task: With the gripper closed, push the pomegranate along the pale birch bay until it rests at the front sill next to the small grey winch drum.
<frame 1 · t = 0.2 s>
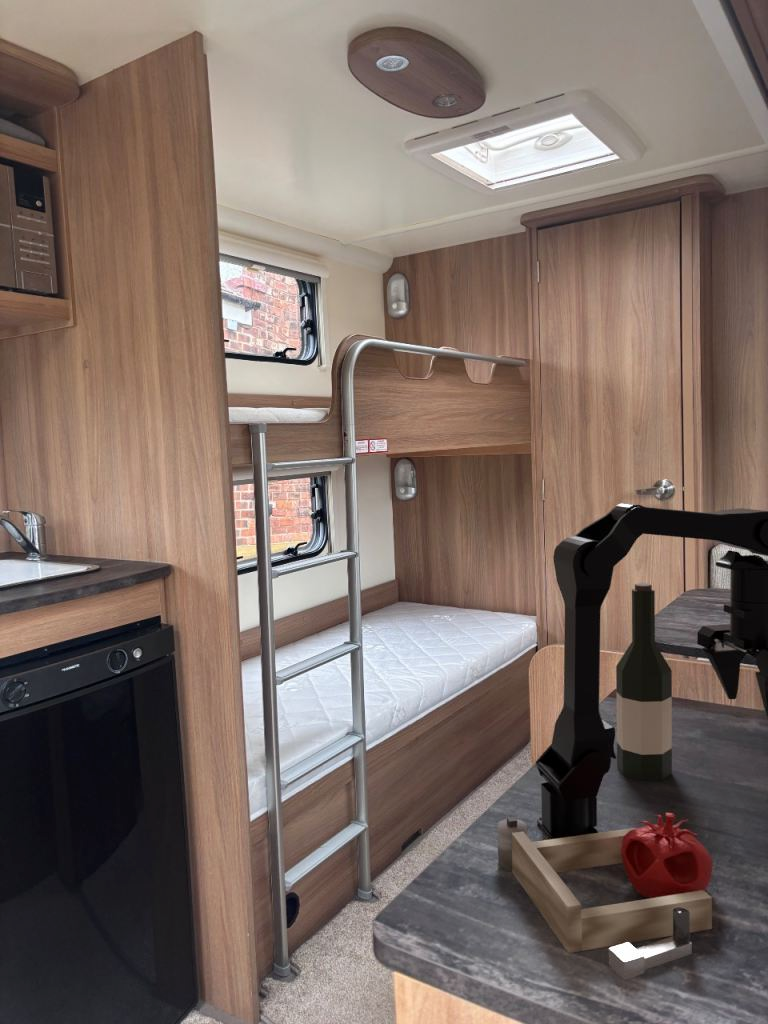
hand: (751, 709, 110), 14 cm above the table, tool pointing down, fingers open, 9 cm apart
pomegranate: (666, 891, 91), on the table
crank handle: (654, 959, 79), on the table
wine bottle: (644, 771, 125), on the table
bay: (611, 897, 90), on the table
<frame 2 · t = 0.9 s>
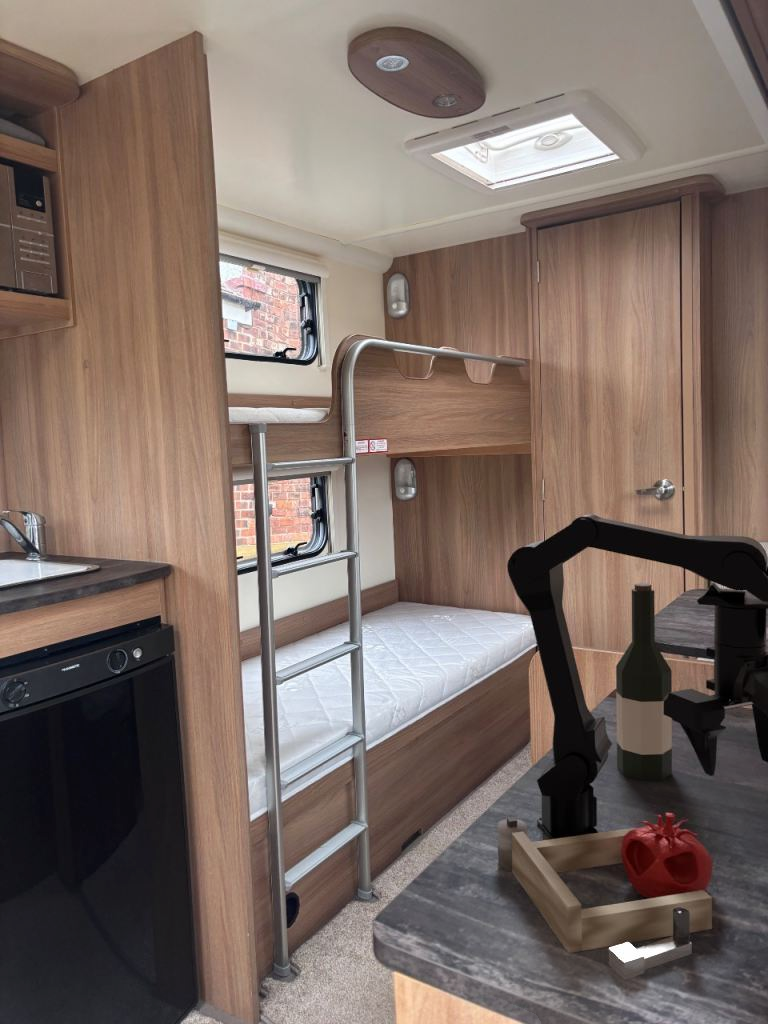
hand: (738, 767, 95), 12 cm above the table, tool pointing down, fingers open, 9 cm apart
nothing on the table moved.
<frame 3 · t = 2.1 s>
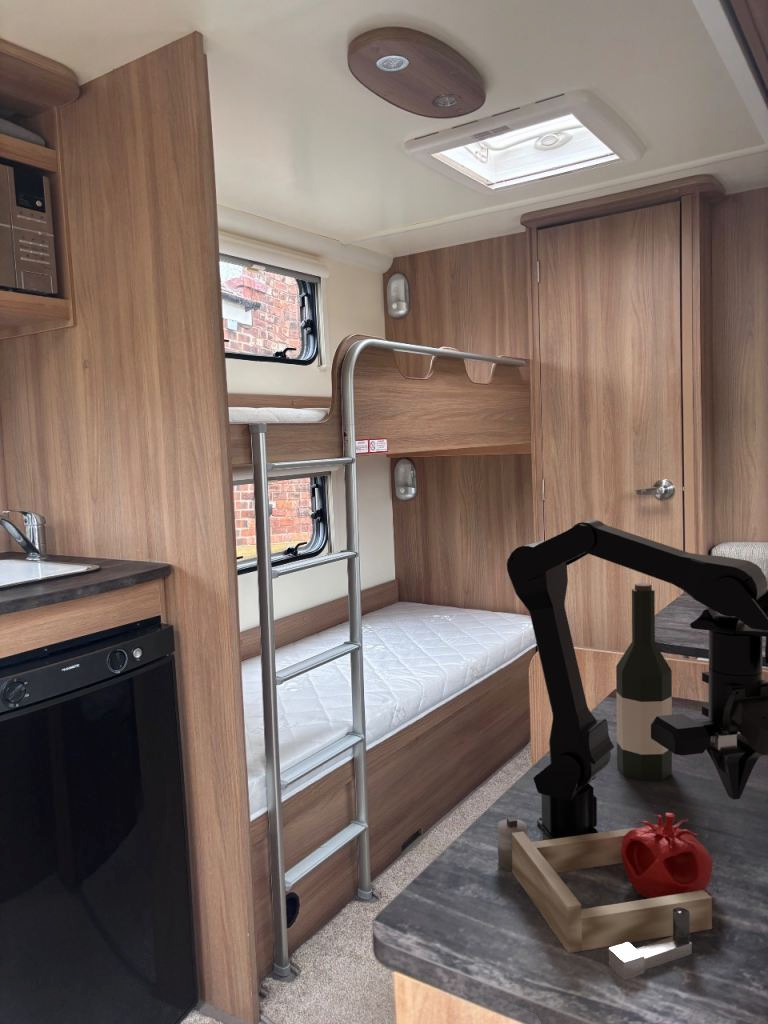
hand: (734, 798, 92), 10 cm above the table, tool pointing down, fingers closed
nothing on the table moved.
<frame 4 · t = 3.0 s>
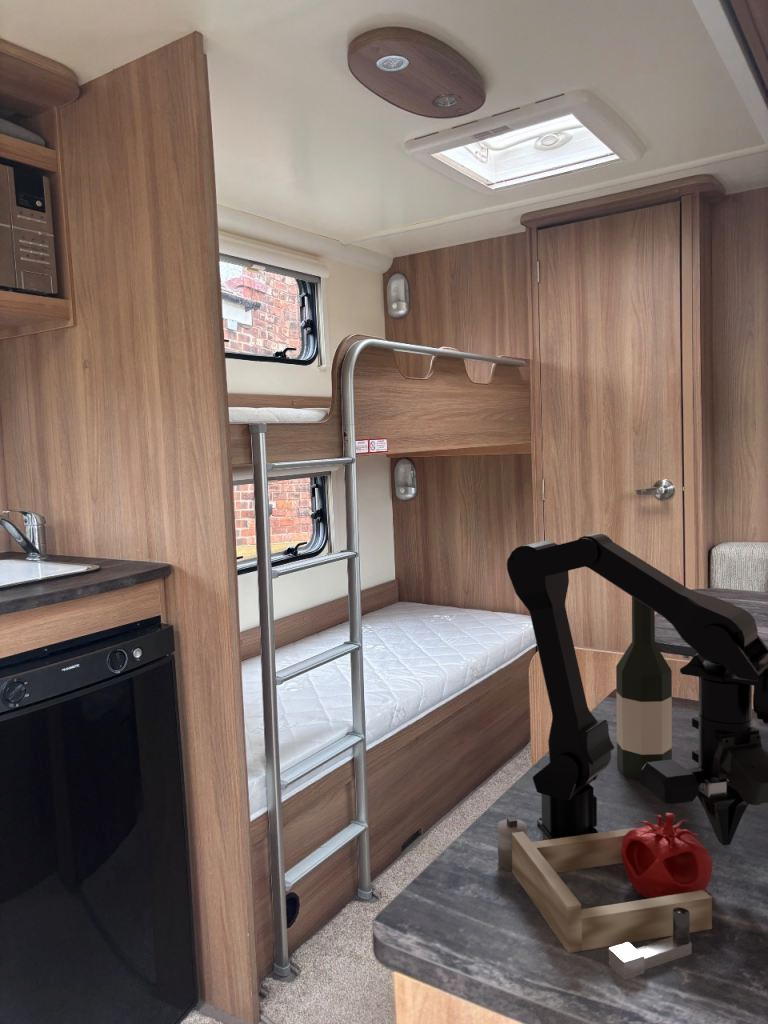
hand: (724, 843, 92), 4 cm above the table, tool pointing down, fingers closed
nothing on the table moved.
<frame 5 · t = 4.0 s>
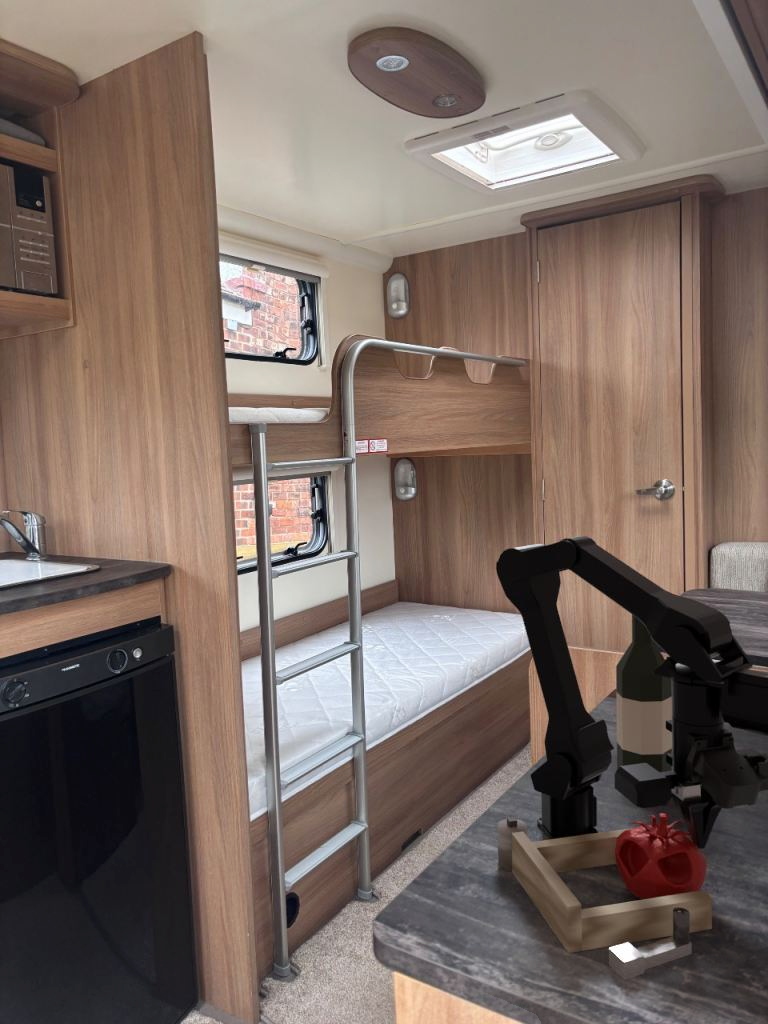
hand: (699, 847, 92), 5 cm above the table, tool pointing down, fingers closed
pomegranate: (660, 892, 91), on the table, touching gripper
everything else where it was.
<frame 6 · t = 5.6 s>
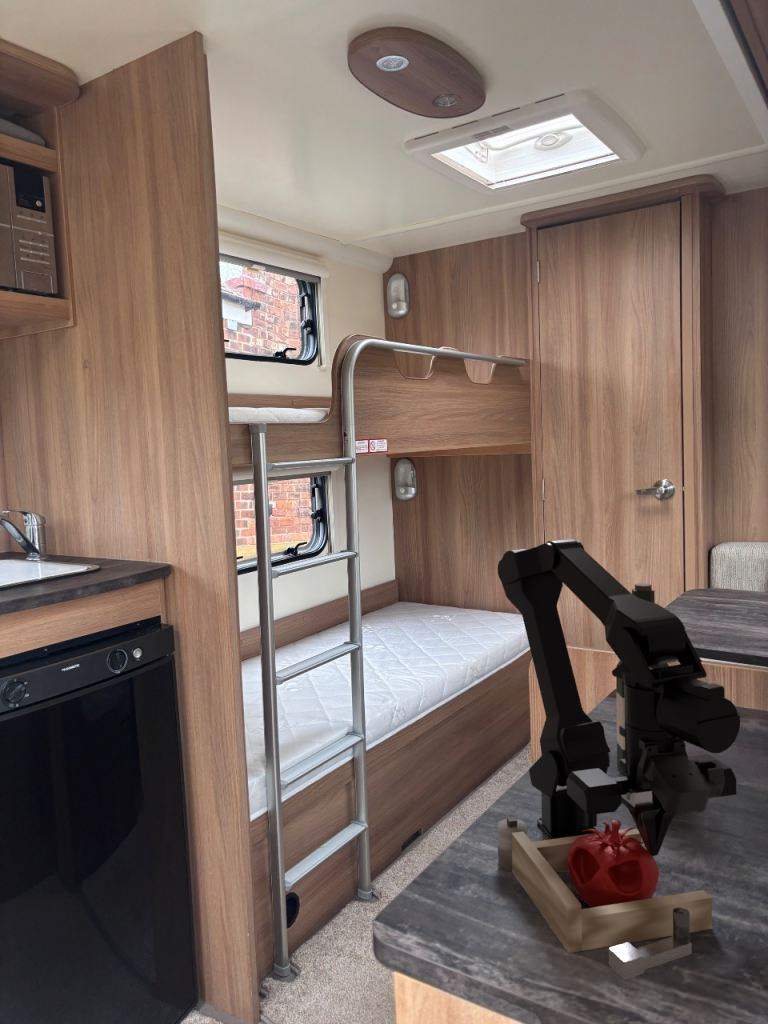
hand: (652, 854, 90), 5 cm above the table, tool pointing down, fingers closed
pomegranate: (612, 900, 90), on the table, touching gripper
everything else where it was.
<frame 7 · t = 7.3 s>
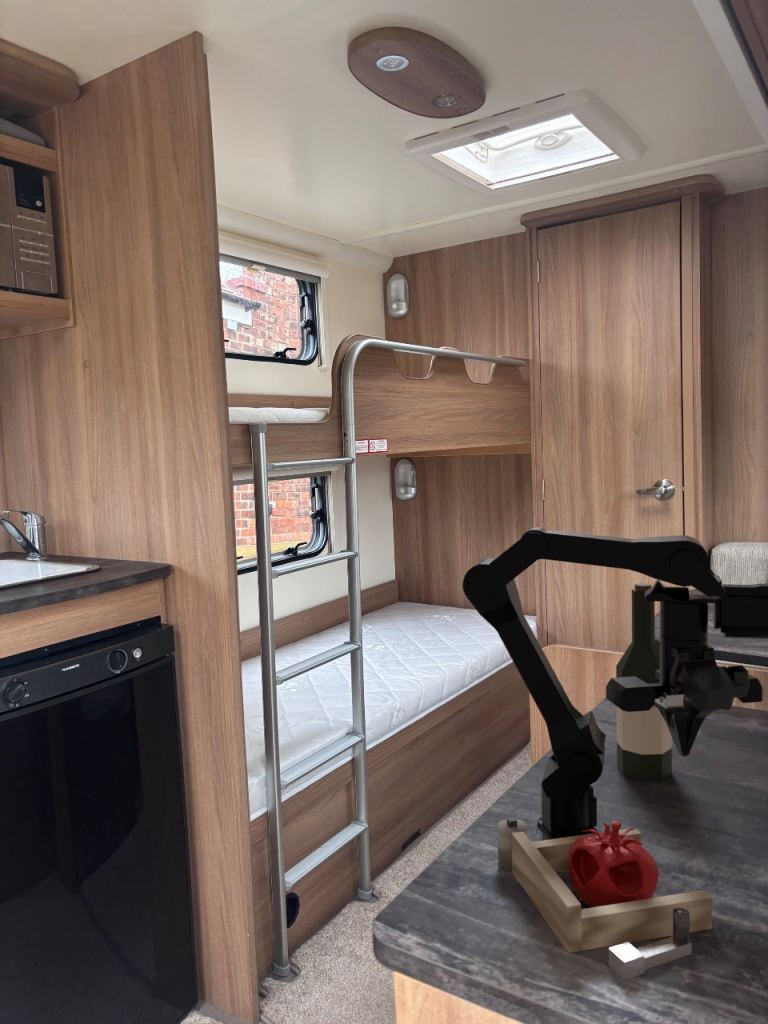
hand: (683, 754, 100), 12 cm above the table, tool pointing down, fingers closed
pomegranate: (612, 900, 90), on the table
everything else where it was.
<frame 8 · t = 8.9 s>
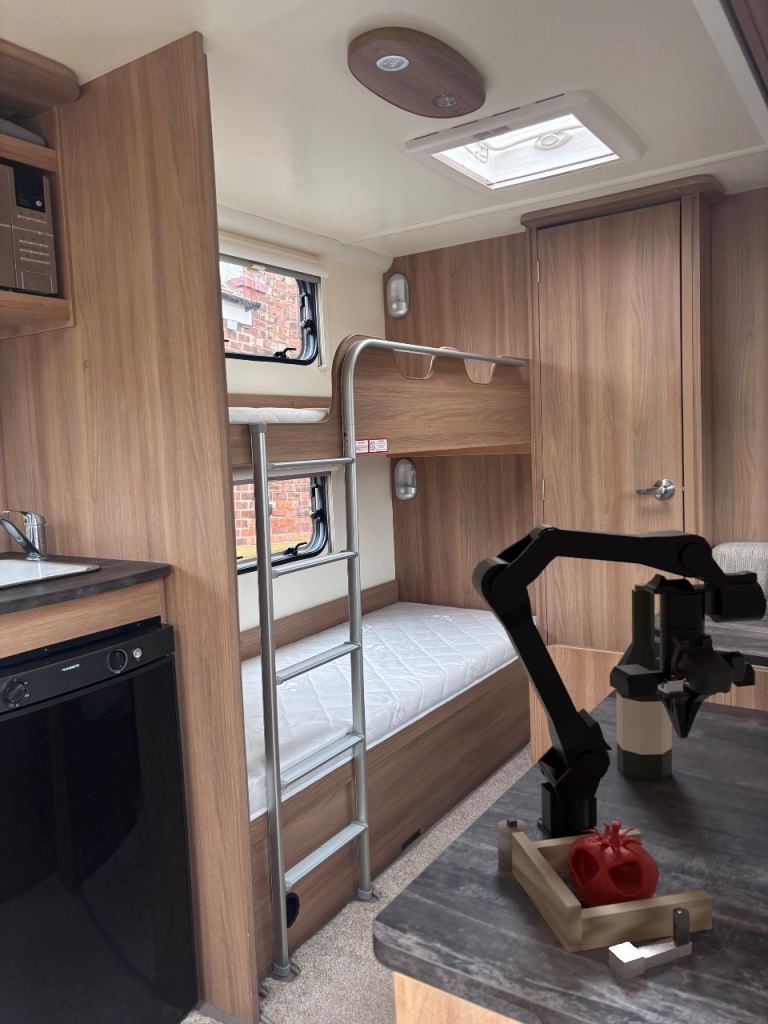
hand: (682, 737, 106), 12 cm above the table, tool pointing down, fingers closed
nothing on the table moved.
at the end: pomegranate inside the target area (3.4 cm from its centre), on the table; pomegranate moved 6.9 cm from its start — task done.
